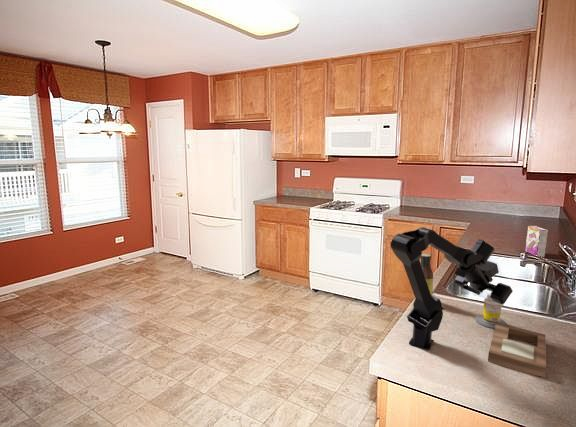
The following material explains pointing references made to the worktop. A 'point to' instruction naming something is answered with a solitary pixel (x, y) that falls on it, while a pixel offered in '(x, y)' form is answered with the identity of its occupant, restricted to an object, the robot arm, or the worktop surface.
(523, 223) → the worktop surface
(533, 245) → the candy bar box
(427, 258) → the sauce bottle
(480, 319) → the rubber mat
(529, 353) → the puzzle board
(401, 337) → the worktop surface
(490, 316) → the supplement bottle
